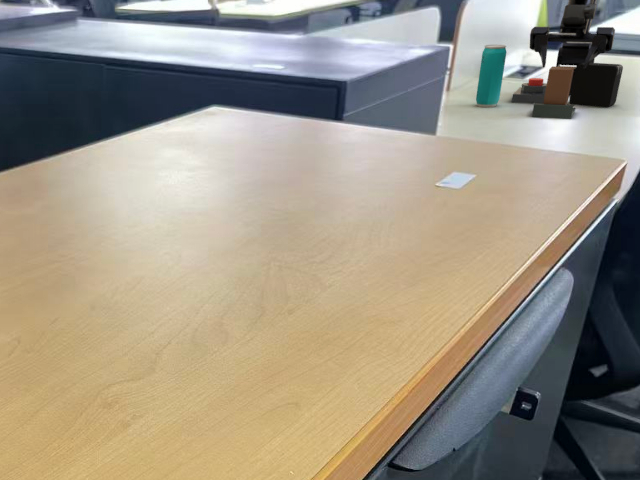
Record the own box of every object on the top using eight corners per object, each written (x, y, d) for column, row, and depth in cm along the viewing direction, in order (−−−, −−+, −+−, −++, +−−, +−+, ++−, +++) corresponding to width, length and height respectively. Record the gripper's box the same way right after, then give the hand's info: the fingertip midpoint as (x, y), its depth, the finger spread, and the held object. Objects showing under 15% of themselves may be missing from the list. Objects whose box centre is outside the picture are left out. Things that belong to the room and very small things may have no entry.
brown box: (543, 112, 217) (552, 66, 212) (565, 113, 214) (574, 67, 209) (541, 115, 213) (549, 69, 208) (563, 117, 210) (572, 69, 205)
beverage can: (497, 104, 229) (507, 44, 222) (498, 108, 224) (507, 46, 217) (474, 104, 230) (483, 44, 224) (475, 107, 226) (483, 47, 219)
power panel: (518, 95, 239) (520, 80, 238) (553, 97, 235) (556, 81, 233) (511, 102, 230) (513, 87, 228) (547, 104, 226) (550, 88, 224)
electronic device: (574, 102, 227) (582, 62, 223) (615, 105, 221) (623, 64, 216) (568, 104, 225) (576, 64, 220) (608, 108, 218) (617, 66, 214)
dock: (536, 110, 219) (538, 98, 217) (574, 112, 215) (577, 100, 213) (531, 116, 212) (533, 104, 211) (570, 118, 208) (573, 106, 207)
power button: (528, 84, 233) (530, 77, 232) (543, 85, 232) (544, 78, 231) (526, 86, 231) (528, 79, 230) (541, 87, 229) (542, 80, 228)
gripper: (538, -9, 212) (523, 44, 209) (623, -10, 204) (609, 45, 200) (536, 23, 222) (522, 73, 219) (618, 23, 213) (604, 76, 210)
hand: (563, 66), depth 212 cm, fingers open, 9 cm apart
